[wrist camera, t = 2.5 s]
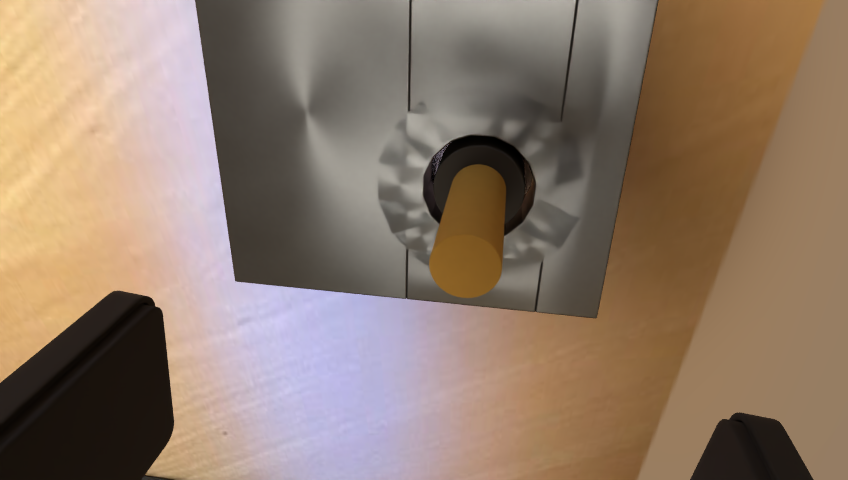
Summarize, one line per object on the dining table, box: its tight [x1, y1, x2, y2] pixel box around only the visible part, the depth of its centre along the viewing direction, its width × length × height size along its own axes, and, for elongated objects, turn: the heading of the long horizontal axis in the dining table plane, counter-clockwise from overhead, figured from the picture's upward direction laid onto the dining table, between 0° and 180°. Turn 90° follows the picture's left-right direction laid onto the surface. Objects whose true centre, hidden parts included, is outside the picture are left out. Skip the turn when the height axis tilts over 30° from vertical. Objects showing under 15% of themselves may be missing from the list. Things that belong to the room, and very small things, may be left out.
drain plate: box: [195, 0, 659, 318], centre depth 25 cm, size 18×18×2 cm
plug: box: [429, 135, 525, 298], centre depth 23 cm, size 4×4×10 cm
